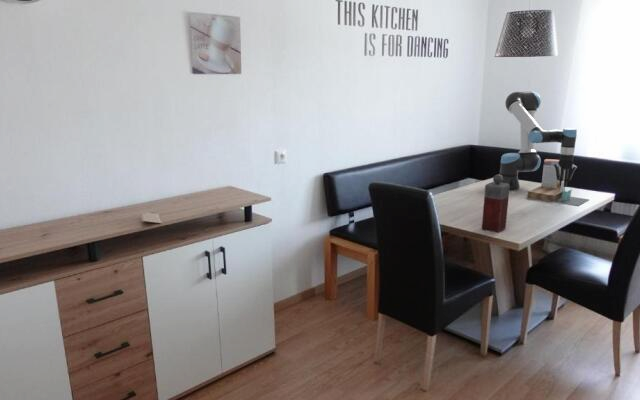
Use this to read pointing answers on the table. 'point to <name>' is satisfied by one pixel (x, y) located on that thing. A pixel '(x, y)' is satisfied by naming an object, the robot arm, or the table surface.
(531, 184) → the table surface
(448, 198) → the table surface
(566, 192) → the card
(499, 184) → the red square decanter
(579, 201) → the mat
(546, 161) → the cracker box
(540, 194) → the deck
